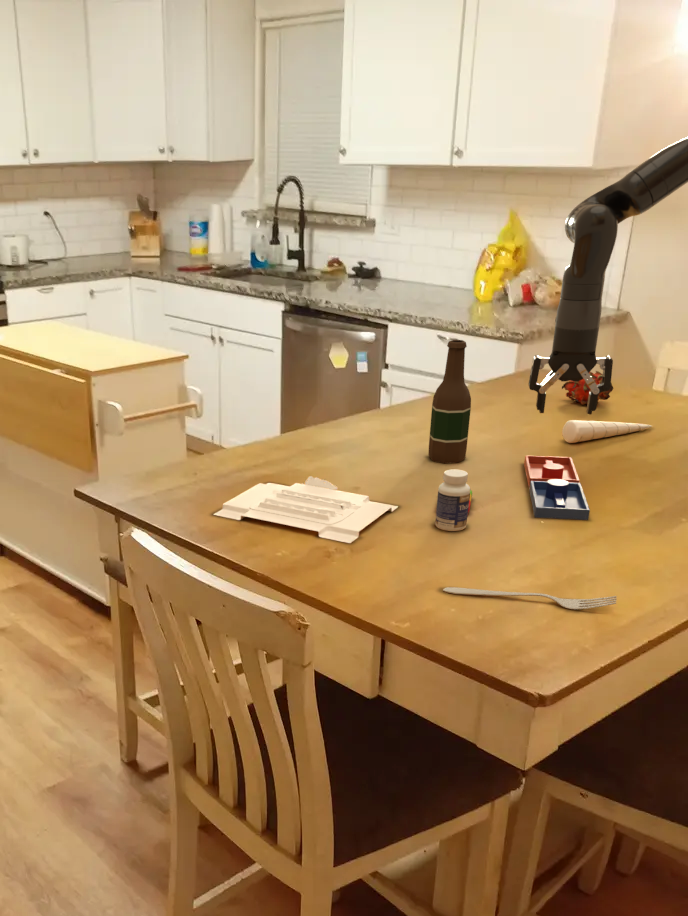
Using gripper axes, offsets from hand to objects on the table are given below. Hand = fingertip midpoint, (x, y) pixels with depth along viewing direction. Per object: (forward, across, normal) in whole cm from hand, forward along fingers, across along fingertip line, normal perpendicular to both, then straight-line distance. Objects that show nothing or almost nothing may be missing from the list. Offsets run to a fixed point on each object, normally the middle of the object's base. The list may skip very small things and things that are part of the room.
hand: (565, 412), depth 179 cm
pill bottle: (+13, -20, -28) cm, 37 cm away
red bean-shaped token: (+13, -1, +2) cm, 13 cm away
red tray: (+13, -1, +2) cm, 13 cm away
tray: (+13, -46, -24) cm, 53 cm away
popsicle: (+13, -19, -15) cm, 27 cm away
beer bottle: (+13, -21, +11) cm, 27 cm away
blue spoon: (+13, -1, -14) cm, 19 cm away
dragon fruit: (+14, +12, +60) cm, 63 cm away
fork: (+13, -9, -56) cm, 58 cm away
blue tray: (+13, -1, -14) cm, 19 cm away
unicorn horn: (+14, +13, +32) cm, 37 cm away
